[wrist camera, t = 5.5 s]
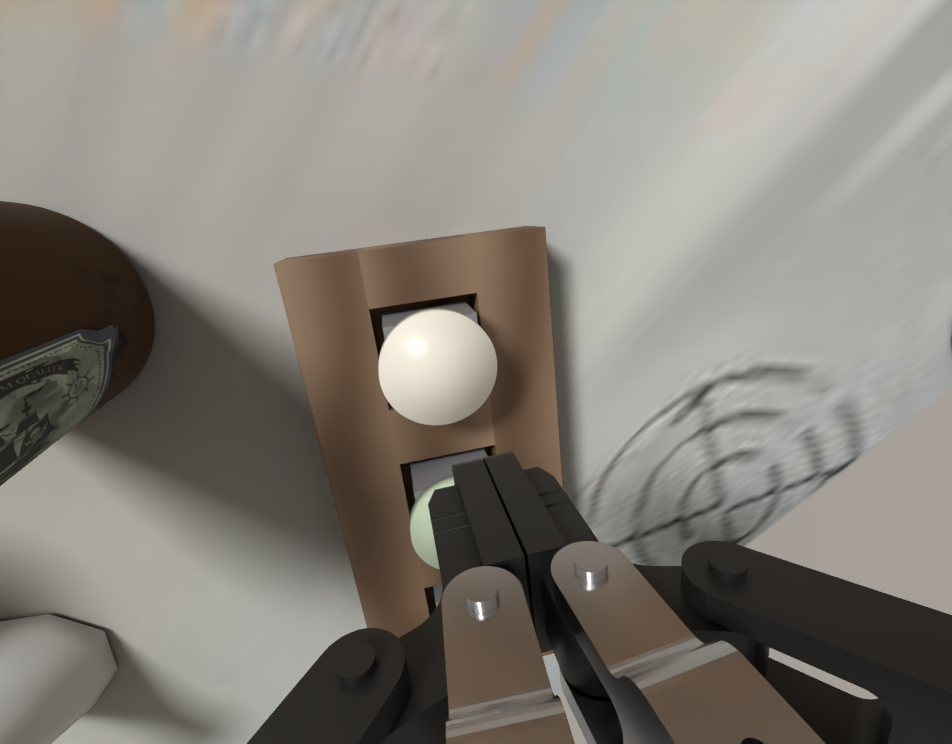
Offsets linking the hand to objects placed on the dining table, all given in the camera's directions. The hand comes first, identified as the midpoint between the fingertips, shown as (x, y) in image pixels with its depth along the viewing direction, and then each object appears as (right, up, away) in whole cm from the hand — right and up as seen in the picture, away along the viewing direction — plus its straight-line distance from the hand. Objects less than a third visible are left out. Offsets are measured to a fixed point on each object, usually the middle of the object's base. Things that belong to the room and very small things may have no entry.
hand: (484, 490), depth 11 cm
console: (-2, -3, +16) cm, 17 cm away
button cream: (-3, +4, +12) cm, 13 cm away
